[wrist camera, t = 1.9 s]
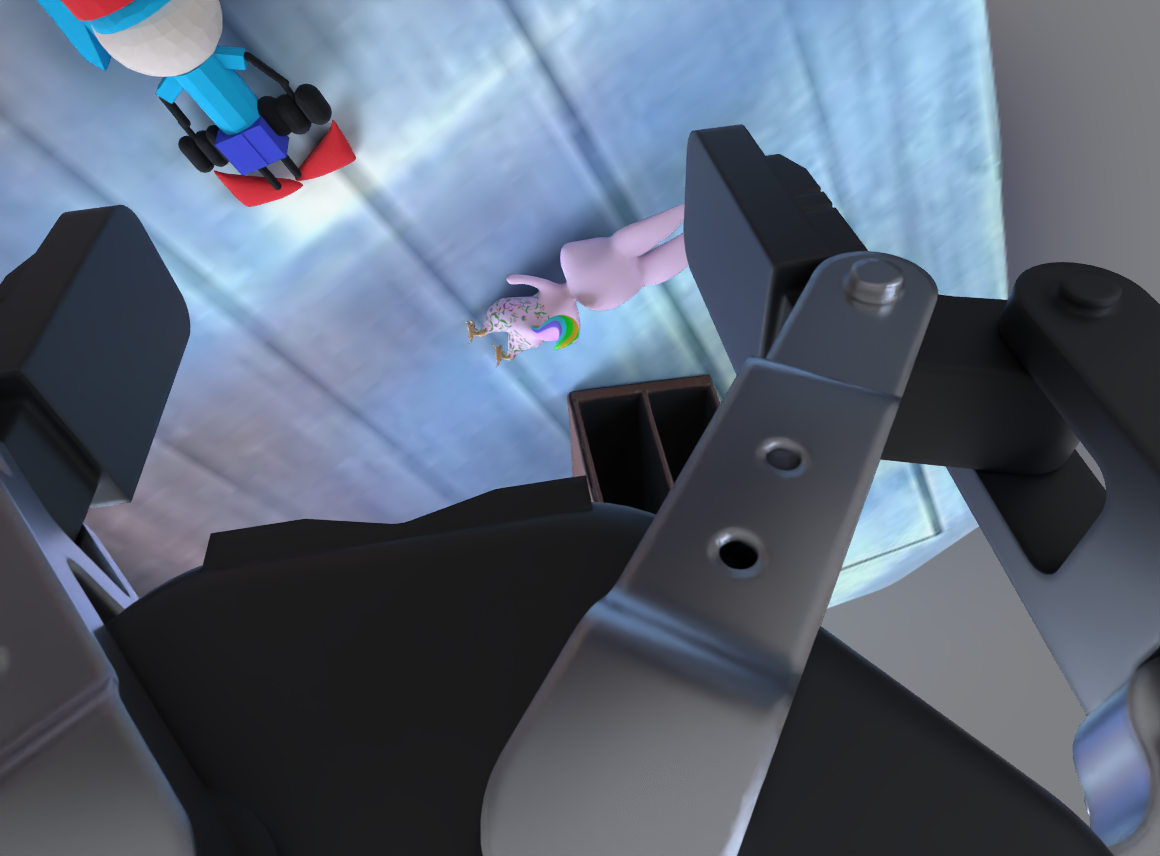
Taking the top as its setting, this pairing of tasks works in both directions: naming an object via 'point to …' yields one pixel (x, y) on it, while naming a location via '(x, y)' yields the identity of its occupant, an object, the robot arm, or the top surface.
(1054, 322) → the robot arm
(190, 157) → the toy figure
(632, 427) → the letter holder
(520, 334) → the rabbit figure
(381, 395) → the top surface
